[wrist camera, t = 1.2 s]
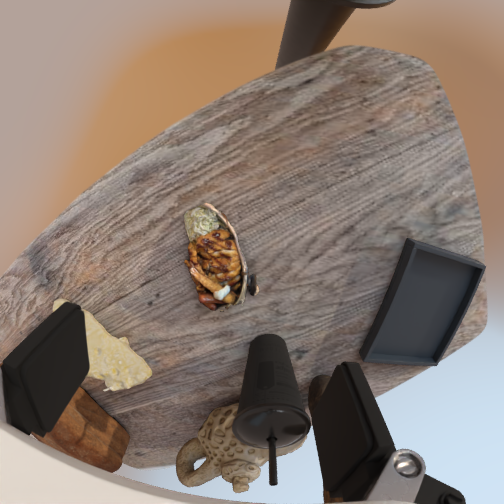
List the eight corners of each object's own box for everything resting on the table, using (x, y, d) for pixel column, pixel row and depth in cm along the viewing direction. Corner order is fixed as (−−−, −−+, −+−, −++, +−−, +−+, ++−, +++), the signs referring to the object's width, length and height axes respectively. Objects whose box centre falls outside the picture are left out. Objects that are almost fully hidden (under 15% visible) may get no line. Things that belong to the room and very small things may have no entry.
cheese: (59, 321, 40) (84, 410, 34) (32, 309, 33) (56, 411, 27) (135, 286, 42) (169, 380, 36) (114, 268, 36) (151, 378, 30)
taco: (221, 195, 31) (216, 201, 28) (262, 291, 35) (263, 306, 31) (164, 220, 32) (154, 228, 29) (208, 309, 36) (204, 325, 32)
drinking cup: (227, 352, 38) (210, 486, 19) (261, 314, 36) (265, 455, 17) (272, 377, 39) (279, 503, 20) (308, 342, 37) (338, 475, 18)
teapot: (284, 365, 38) (293, 455, 24) (316, 408, 42) (330, 486, 27) (167, 408, 42) (145, 481, 28) (208, 443, 45) (198, 510, 31)
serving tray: (407, 237, 32) (415, 242, 30) (478, 260, 33) (486, 266, 31) (358, 352, 38) (363, 362, 36) (431, 358, 39) (436, 366, 37)
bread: (103, 442, 48) (86, 483, 37) (11, 350, 41) (-22, 386, 29) (143, 434, 46) (126, 484, 34) (36, 327, 38) (-4, 369, 26)
